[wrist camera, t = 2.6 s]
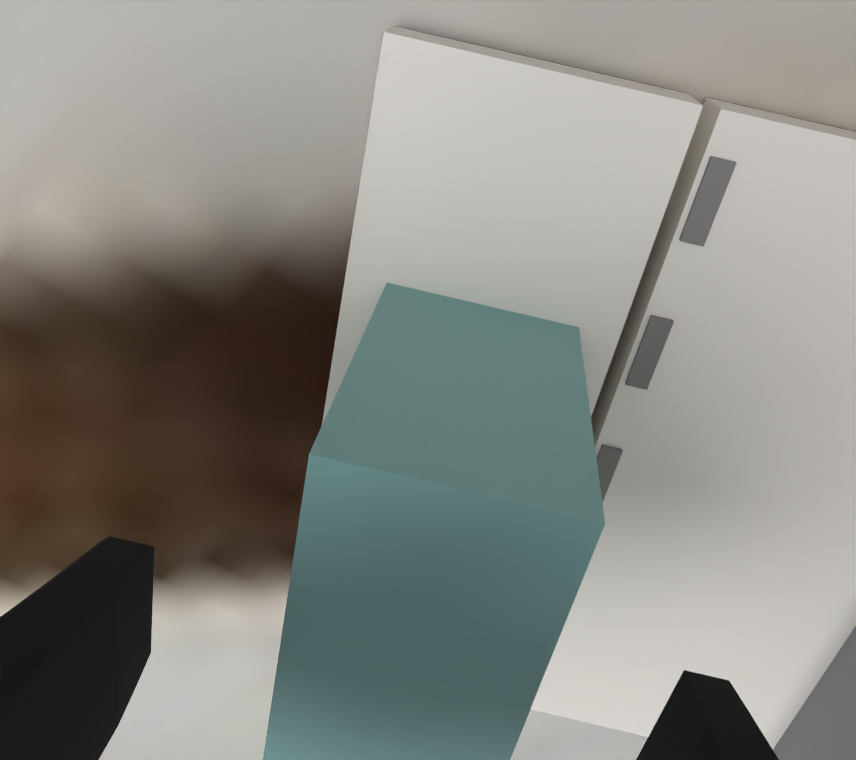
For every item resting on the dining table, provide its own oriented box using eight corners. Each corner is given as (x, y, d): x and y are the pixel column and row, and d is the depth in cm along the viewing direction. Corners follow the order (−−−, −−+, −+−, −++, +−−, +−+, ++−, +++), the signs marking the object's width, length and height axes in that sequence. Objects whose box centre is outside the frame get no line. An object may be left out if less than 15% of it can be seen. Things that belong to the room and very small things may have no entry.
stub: (688, 94, 13) (823, 202, 7) (490, 663, 20) (473, 961, 14) (395, 26, 13) (282, 77, 7) (299, 618, 20) (200, 895, 14)
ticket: (1277, 159, 12) (1544, 228, 9) (829, 768, 20) (886, 922, 17) (728, 33, 12) (798, 57, 9) (492, 688, 20) (485, 827, 17)
